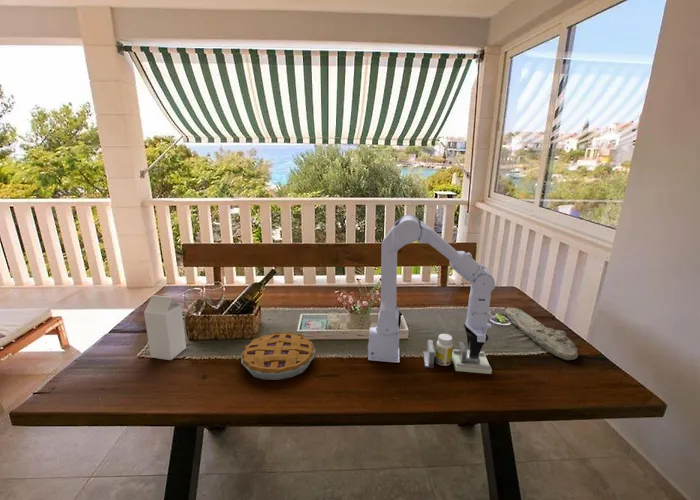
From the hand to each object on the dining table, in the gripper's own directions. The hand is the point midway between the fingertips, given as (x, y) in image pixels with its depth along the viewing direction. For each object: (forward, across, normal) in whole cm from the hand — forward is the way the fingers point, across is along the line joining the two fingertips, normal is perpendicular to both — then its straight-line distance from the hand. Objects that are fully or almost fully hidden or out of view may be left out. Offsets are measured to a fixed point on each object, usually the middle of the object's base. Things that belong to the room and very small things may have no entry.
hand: (473, 351), depth 105 cm
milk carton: (+4, -8, +93) cm, 93 cm away
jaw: (+4, 0, +12) cm, 13 cm away
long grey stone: (+5, +23, -27) cm, 35 cm away
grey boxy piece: (+3, 0, +1) cm, 3 cm away
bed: (+4, 0, 0) cm, 4 cm away
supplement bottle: (+4, 0, +8) cm, 9 cm away
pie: (+5, -7, +58) cm, 58 cm away
